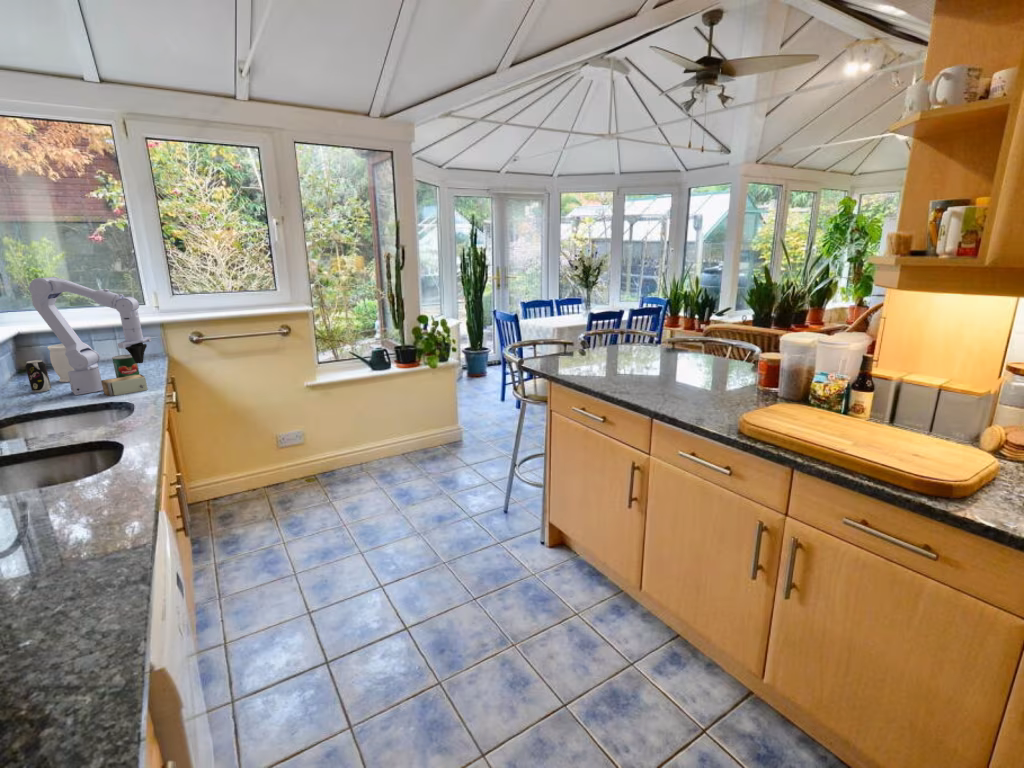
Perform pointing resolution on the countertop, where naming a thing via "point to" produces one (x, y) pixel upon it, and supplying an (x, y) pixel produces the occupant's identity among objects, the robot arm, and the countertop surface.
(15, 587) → the countertop surface
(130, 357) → the canned tomato
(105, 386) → the cabinet
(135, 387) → the door
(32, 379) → the beverage can
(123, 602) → the countertop surface
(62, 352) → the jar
